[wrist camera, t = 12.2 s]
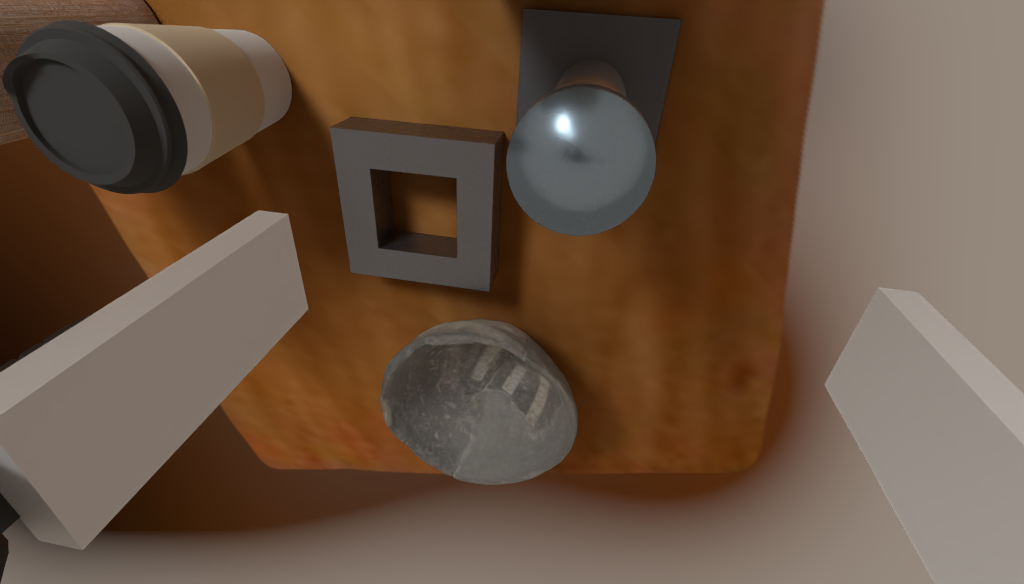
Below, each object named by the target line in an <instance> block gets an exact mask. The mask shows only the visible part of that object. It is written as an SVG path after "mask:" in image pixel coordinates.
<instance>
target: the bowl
mask: <svg viewBox="0 0 1024 584" xmlns="http://www.w3.org/2000/svg"><path fill="white" fill-rule="evenodd" d="M380 400H381V408H382V410H383V412H384V419H385V422H386V424H387V426H388V427H389V429H390V430H391V431H392V432H393V434H394V435H395V436H396V437H397V438H398V439H399V440H401V441H402V442H404V443H405V444H406V445H407V446H408V447H409V448H410V449H411V450H412V451H413V453H414V454H416V455H417V456H418V457H419V458H420V459H421V460H423V461H424V462H425V463H427V464H429V465H431V466H433V467H435V468H437V469H438V470H440V471H441V472H443V473H445V474H447V475H449V476H453V477H454V478H456V479H458V480H461V481H466V482H471V483H478V484H487V485H498V484H508V483H516V482H521V481H525V480H529V479H532V478H534V477H537V476H538V475H540V474H542V473H544V472H546V471H548V470H550V469H551V468H553V467H554V466H556V465H557V464H559V463H560V462H561V461H562V460H563V459H564V458H565V456H566V455H567V454H568V453H569V451H570V450H571V448H572V446H573V443H574V440H575V437H576V434H577V429H578V414H577V407H576V403H575V400H574V397H573V394H572V391H571V388H570V386H569V384H568V382H567V380H566V378H565V376H564V375H563V374H562V372H561V371H560V370H559V368H558V367H557V366H556V364H555V363H554V362H553V360H552V359H551V358H550V357H549V355H548V354H547V353H546V352H545V351H544V350H543V349H542V348H541V347H540V346H539V345H538V344H537V343H536V342H535V341H534V340H533V339H531V338H530V337H529V336H528V334H526V333H525V332H523V331H521V330H519V329H518V328H516V327H515V326H513V325H511V324H509V323H506V322H503V321H492V320H485V319H476V320H465V321H456V322H448V323H443V324H440V325H436V326H434V327H432V328H430V329H428V330H426V331H425V332H423V333H421V334H420V335H418V336H417V337H416V338H415V340H413V341H412V342H411V343H409V344H408V345H407V346H405V347H404V348H403V349H402V350H401V351H400V352H399V353H398V354H397V355H396V356H395V357H394V358H393V359H392V360H391V361H390V362H389V363H388V365H387V367H386V369H385V374H384V379H383V384H382V393H381V397H380Z"/></svg>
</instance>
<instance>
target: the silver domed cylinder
mask: <svg viewBox="0 0 1024 584" xmlns="http://www.w3.org/2000/svg"><path fill="white" fill-rule="evenodd" d="M506 168H507V176H508V181H509V185H510V188H511V190H512V193H513V195H514V197H515V199H516V201H517V202H518V204H519V205H520V206H521V208H522V209H523V210H524V212H525V213H526V214H527V215H528V216H529V217H531V218H532V219H533V220H534V221H536V222H537V223H538V224H540V225H542V226H543V227H545V228H547V229H550V230H552V231H555V232H558V233H561V234H567V235H576V236H583V235H592V234H598V233H601V232H604V231H607V230H609V229H612V228H614V227H616V226H617V225H619V224H621V223H622V222H624V221H625V220H626V219H628V218H629V217H630V216H631V215H632V214H633V213H634V212H635V211H636V210H637V209H638V208H639V207H640V205H641V204H642V203H643V201H644V200H645V198H646V196H647V195H648V192H649V190H650V188H651V186H652V182H653V179H654V175H655V169H656V152H655V145H654V142H653V138H652V135H651V132H650V129H649V127H648V124H647V122H646V120H645V118H644V117H643V115H642V113H641V112H640V111H639V110H638V108H637V107H636V106H635V105H634V104H633V103H632V102H631V101H630V100H629V99H628V98H627V96H626V91H625V87H624V83H623V80H622V78H621V76H620V75H619V73H618V72H617V71H616V69H614V68H613V67H612V66H611V65H609V64H608V63H606V62H603V61H600V60H591V59H590V60H584V61H580V62H578V63H576V64H574V65H572V66H571V67H570V68H569V69H567V70H566V71H565V72H564V74H563V75H562V76H561V78H560V80H559V82H558V83H557V85H556V87H555V89H554V91H551V92H550V93H548V94H546V95H545V96H543V97H542V98H540V99H539V100H538V101H537V102H535V103H534V104H533V105H532V106H531V107H530V108H529V110H528V111H527V112H526V114H525V115H524V116H523V118H522V119H521V120H520V122H519V123H518V125H517V127H516V129H515V131H514V132H513V135H512V137H511V140H510V143H509V147H508V151H507V159H506Z"/></svg>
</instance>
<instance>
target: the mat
mask: <svg viewBox="0 0 1024 584" xmlns="http://www.w3.org/2000/svg"><path fill="white" fill-rule="evenodd" d="M681 21H682V20H681V19H667V18H652V17H638V16H624V15H609V14H595V13H581V12H566V11H552V10H538V9H523V22H522V39H521V56H520V73H519V91H518V108H517V125H518V123H519V122H520V120H521V119H522V118H523V116H524V115H525V114H526V112H527V111H528V110H529V108H530V107H531V106H532V105H533V104H534V103H535V102H537V101H538V100H539V99H540V98H542V97H543V96H545V95H546V94H548V93H550V92H551V91H554V89H555V87H556V85H557V83H558V82H559V80H560V78H561V76H562V75H563V74H564V72H565V71H566V70H567V69H569V68H570V67H571V66H572V65H574V64H576V63H578V62H580V61H584V60H590V59H591V60H600V61H603V62H606V63H608V64H609V65H611V66H612V67H613V68H614V69H616V71H617V72H618V73H619V75H620V76H621V78H622V80H623V83H624V87H625V91H626V96H627V98H628V99H629V100H630V101H631V102H632V103H633V104H634V105H635V106H636V107H637V108H638V110H639V111H640V112H641V113H642V115H643V117H644V118H645V120H646V122H647V124H648V127H649V129H650V132H651V135H652V138H653V142H654V145H655V142H656V138H657V133H658V128H659V124H660V119H661V114H662V110H663V105H664V100H665V96H666V91H667V86H668V82H669V77H670V72H671V68H672V63H673V58H674V54H675V49H676V44H677V40H678V35H679V30H680V26H681ZM517 125H516V127H517Z"/></svg>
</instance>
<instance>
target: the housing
mask: <svg viewBox="0 0 1024 584" xmlns="http://www.w3.org/2000/svg"><path fill="white" fill-rule="evenodd" d="M330 133H331V140H332V147H333V154H334V160H335V167H336V174H337V181H338V188H339V195H340V201H341V208H342V215H343V222H344V229H345V236H346V242H347V249H348V256H349V263H350V270H351V273H357V274H364V275H372V276H379V277H386V278H394V279H401V280H408V281H416V282H423V283H430V284H437V285H445V286H452V287H459V288H467V289H474V290H481V291H488V292H490V289H491V286H492V284H493V281H494V279H495V276H496V274H497V271H498V251H499V228H500V206H501V183H502V161H503V138H504V132H500V131H490V130H480V129H470V128H459V127H449V126H439V125H429V124H419V123H409V122H399V121H389V120H379V119H369V118H359V117H350V118H348V119H346V120H344V121H342V122H340V123H338V124H336V125H334V126H332V127H330ZM389 171H396V172H405V173H414V174H423V175H432V176H441V177H450V178H457V238H451V237H443V236H435V235H427V234H419V233H411V232H403V231H395V230H394V222H393V210H392V198H391V187H390V175H389Z"/></svg>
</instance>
